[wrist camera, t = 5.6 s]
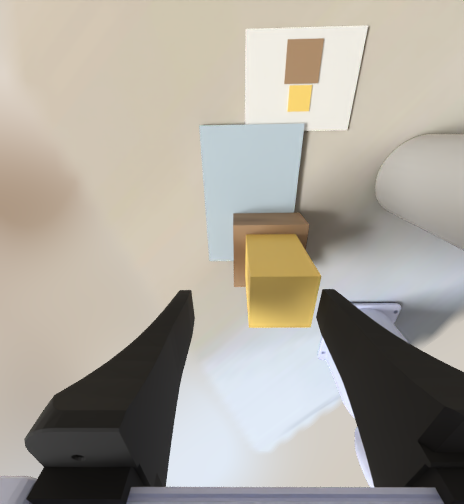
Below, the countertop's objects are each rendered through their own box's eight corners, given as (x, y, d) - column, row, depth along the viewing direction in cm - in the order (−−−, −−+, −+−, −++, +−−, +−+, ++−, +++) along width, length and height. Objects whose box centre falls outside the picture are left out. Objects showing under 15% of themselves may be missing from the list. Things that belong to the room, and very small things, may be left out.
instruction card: (346, 130, 18) (347, 130, 17) (244, 132, 18) (244, 132, 17) (366, 27, 15) (369, 24, 14) (245, 30, 15) (246, 28, 15)
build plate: (287, 257, 23) (288, 260, 22) (210, 258, 23) (209, 261, 23) (302, 123, 17) (304, 123, 17) (200, 125, 17) (199, 125, 17)
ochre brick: (290, 275, 20) (310, 327, 14) (245, 275, 20) (248, 327, 15) (295, 233, 18) (321, 276, 13) (245, 234, 18) (250, 276, 13)
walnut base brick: (292, 268, 23) (299, 286, 20) (234, 269, 23) (234, 286, 20) (299, 212, 20) (309, 224, 17) (233, 213, 20) (233, 225, 18)
